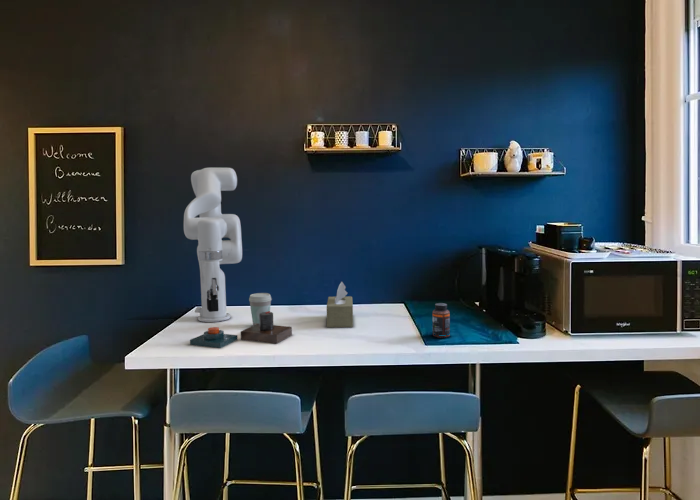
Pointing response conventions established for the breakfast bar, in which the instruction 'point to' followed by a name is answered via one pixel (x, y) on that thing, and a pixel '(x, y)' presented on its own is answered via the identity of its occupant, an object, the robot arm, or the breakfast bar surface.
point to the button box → (213, 339)
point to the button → (213, 330)
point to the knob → (266, 321)
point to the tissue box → (340, 309)
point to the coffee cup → (259, 305)
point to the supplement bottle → (441, 320)
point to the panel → (266, 334)
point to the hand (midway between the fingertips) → (212, 310)
